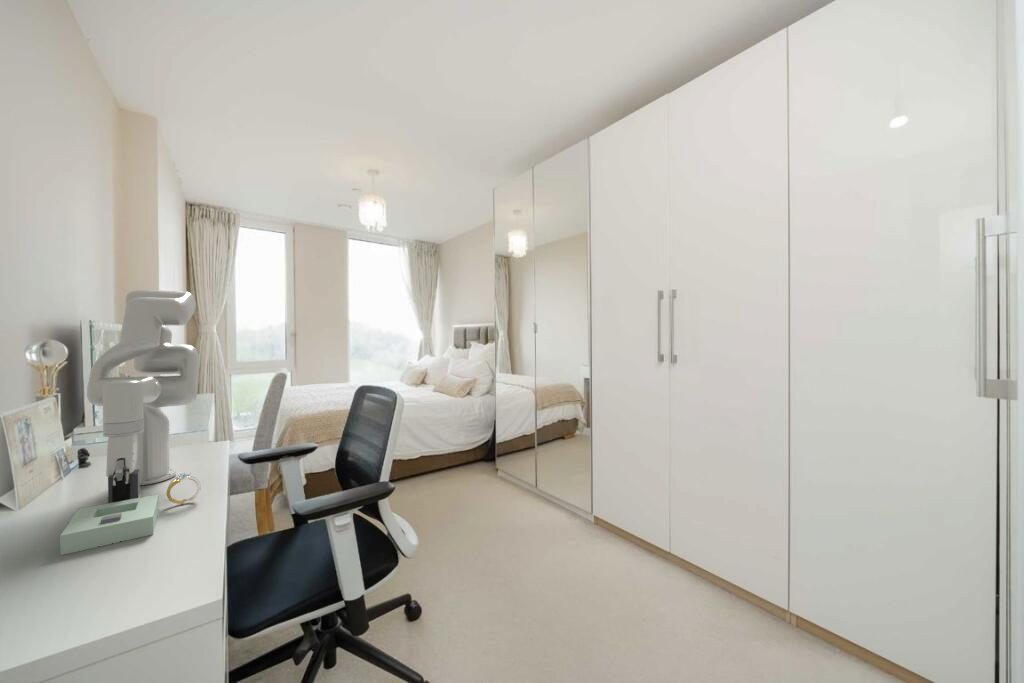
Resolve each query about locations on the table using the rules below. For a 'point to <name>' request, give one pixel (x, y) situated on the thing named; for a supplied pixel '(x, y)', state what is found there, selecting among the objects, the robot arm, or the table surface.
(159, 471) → the robot arm
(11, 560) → the table surface
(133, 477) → the plug
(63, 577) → the table surface
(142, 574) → the table surface
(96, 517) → the socket
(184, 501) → the ring
